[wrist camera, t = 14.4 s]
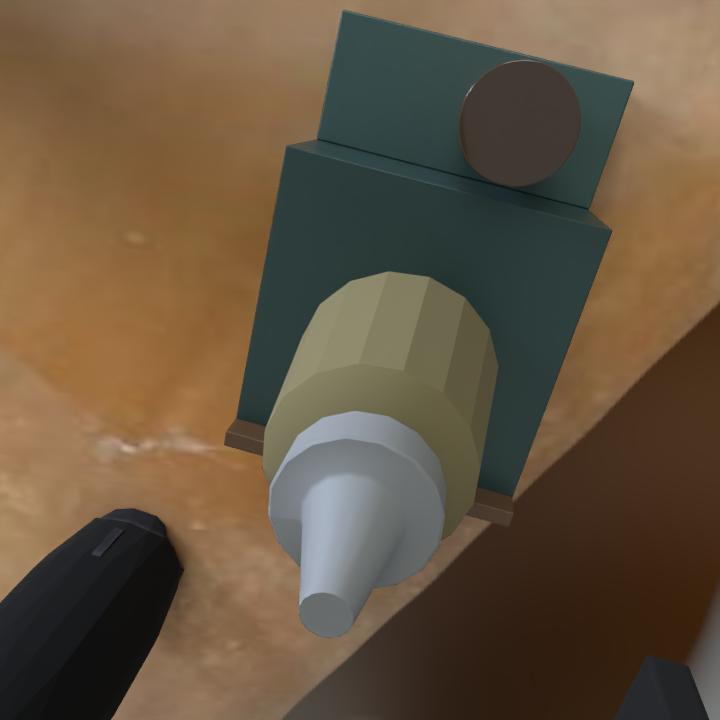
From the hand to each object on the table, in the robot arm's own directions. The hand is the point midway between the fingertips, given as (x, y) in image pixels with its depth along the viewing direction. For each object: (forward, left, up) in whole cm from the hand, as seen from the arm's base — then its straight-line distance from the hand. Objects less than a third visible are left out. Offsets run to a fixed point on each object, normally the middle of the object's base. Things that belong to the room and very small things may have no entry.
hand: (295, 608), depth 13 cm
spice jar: (-9, +3, -25) cm, 27 cm away
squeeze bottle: (+1, +1, -19) cm, 19 cm away
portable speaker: (+26, -14, -29) cm, 41 cm away
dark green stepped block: (-2, +1, -29) cm, 29 cm away
